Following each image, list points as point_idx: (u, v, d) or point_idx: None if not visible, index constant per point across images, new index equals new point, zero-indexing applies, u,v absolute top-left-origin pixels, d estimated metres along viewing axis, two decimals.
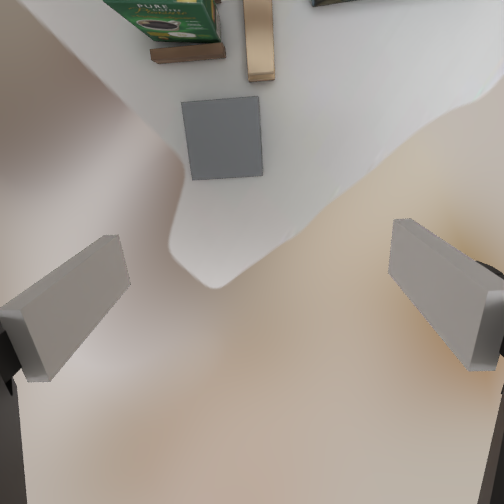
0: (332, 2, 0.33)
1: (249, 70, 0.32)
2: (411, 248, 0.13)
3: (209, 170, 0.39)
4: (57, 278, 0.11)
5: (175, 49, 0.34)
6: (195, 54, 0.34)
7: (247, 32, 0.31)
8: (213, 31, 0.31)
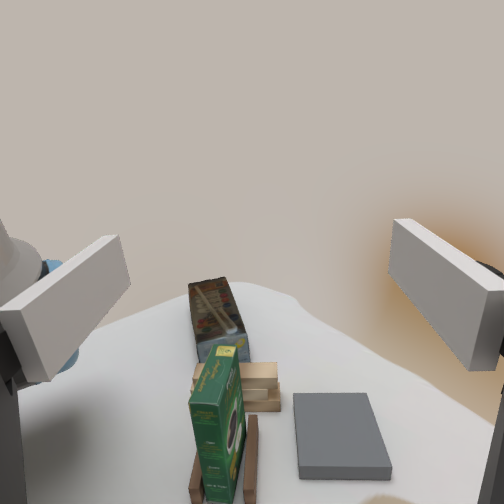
0: None
1: (275, 376, 0.38)
2: (410, 248, 0.13)
3: (373, 443, 0.33)
4: (57, 278, 0.11)
5: (247, 458, 0.32)
6: (254, 439, 0.33)
7: (248, 376, 0.38)
8: None
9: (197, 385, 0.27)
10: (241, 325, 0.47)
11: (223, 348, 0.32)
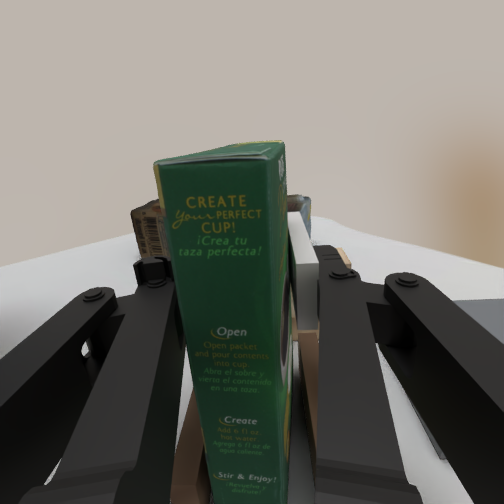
0: None
1: (346, 263, 0.19)
2: None
3: None
4: None
5: (314, 411, 0.13)
6: None
7: None
8: None
9: None
10: None
11: None
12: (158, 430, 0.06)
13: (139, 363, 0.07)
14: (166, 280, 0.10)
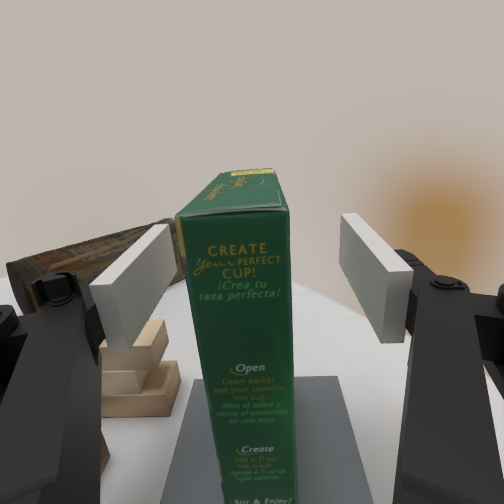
0: None
1: (147, 344, 0.18)
2: (350, 239, 0.14)
3: (344, 493, 0.13)
4: (130, 259, 0.12)
5: None
6: None
7: None
8: None
9: (198, 197, 0.09)
10: None
11: (245, 171, 0.13)
12: (79, 445, 0.06)
13: (49, 382, 0.06)
14: (72, 296, 0.10)
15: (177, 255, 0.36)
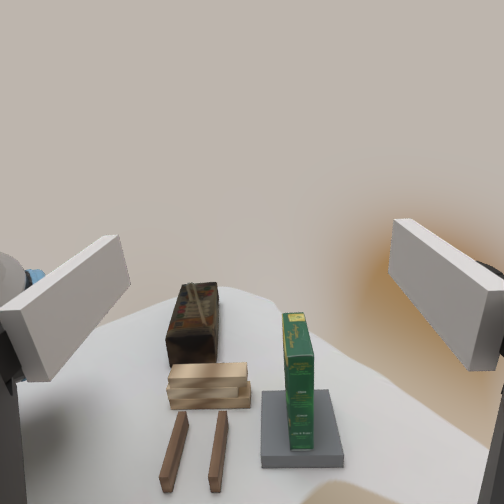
0: None
1: (243, 375, 0.41)
2: (410, 248, 0.13)
3: (329, 435, 0.36)
4: (57, 278, 0.11)
5: (214, 450, 0.35)
6: (222, 433, 0.37)
7: (219, 376, 0.41)
8: None
9: (287, 343, 0.32)
10: (182, 288, 0.64)
11: (293, 315, 0.36)
12: None
13: None
14: None
15: None
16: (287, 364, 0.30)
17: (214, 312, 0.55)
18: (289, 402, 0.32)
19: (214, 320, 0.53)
